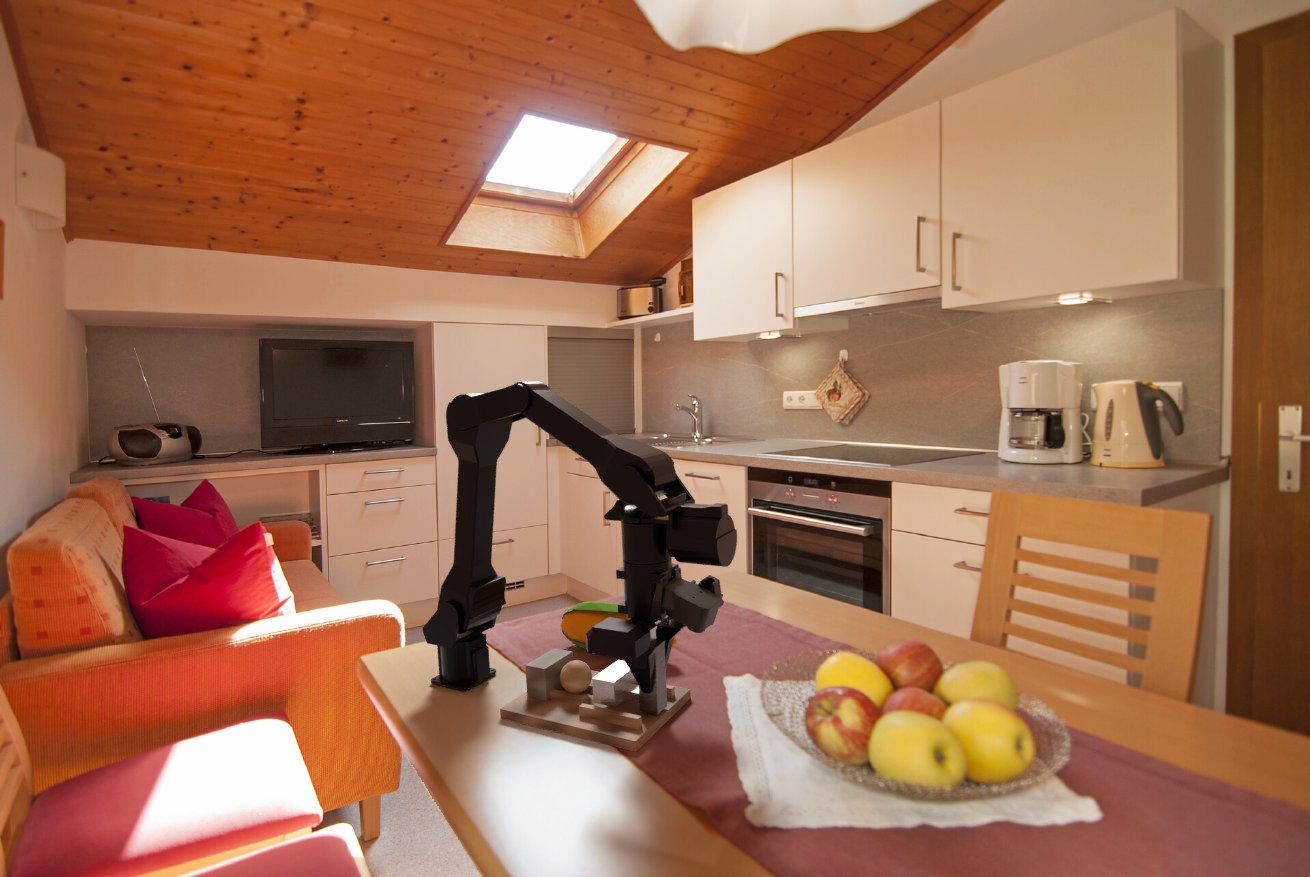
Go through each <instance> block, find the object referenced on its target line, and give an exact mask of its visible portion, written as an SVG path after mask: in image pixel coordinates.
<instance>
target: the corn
mask: <svg viewBox="0 0 1310 877" xmlns="http://www.w3.org/2000/svg"><path fill="white" fill-rule="evenodd" d="M618 604H619V603H614V602H607V601H606V602H605V601H593V600H588V601H587V600H586V601H584V602H579V603H577V604H574V605H573V606H571V607H570V608H568V609H567V610H566V611H564V613H563V614H562V617H561V623H560V628H561V633H562V634H563V636H564V637H565V639H567V640H568V641H569V642H571V643H572V644H573V645H575V646H576V647H580V648H582V649H585V650H587V646H586V633H587V632H588V631H589V630H590V629H591V628H592V627H593V626H595V625H597V624H598V623H600V622H602V621H603V620H605V619H607V618H608V617H611V618H618V619H624V620H627V619H629V617H628V614H621V613H618ZM677 641H678V636H677V635H676V636H675V638H674V641H673V644H672V647H674V646H675V645H676V644H677Z"/></svg>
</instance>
